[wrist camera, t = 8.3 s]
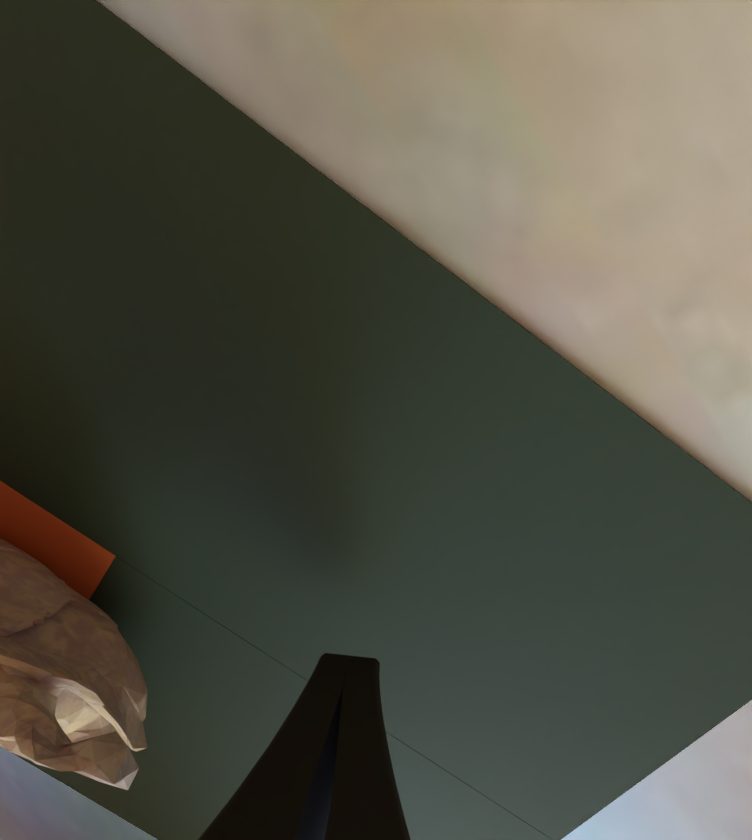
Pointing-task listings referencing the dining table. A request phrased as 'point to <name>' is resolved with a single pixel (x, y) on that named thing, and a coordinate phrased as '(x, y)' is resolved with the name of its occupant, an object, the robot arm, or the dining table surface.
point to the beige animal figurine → (65, 677)
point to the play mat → (329, 467)
